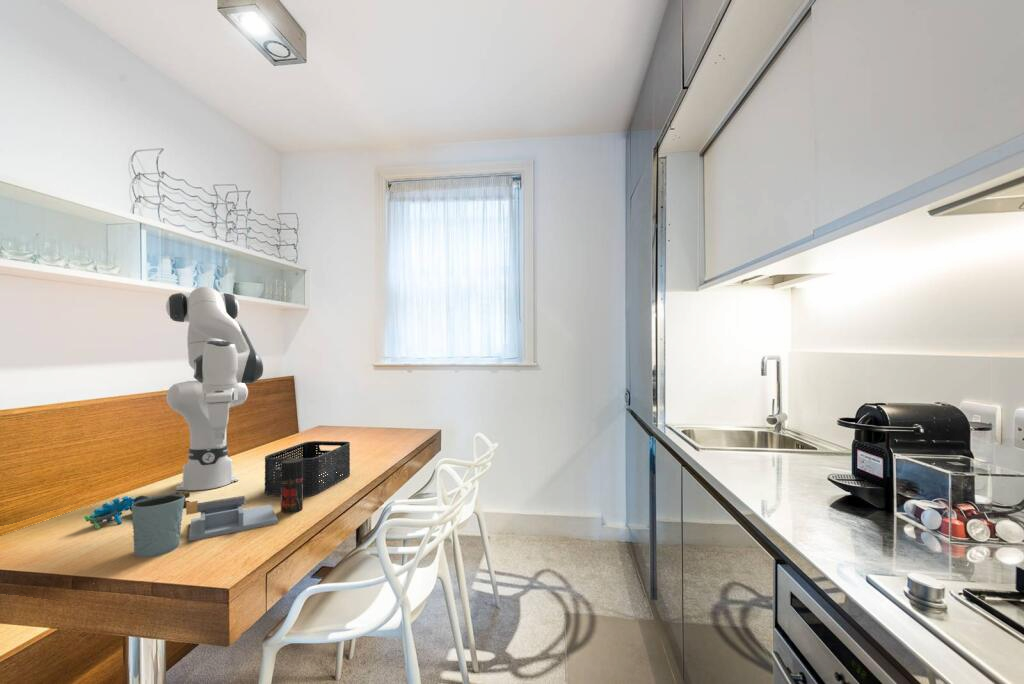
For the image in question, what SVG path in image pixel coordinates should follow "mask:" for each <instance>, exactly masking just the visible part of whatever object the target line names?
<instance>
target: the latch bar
mask: <svg viewBox="0 0 1024 684" xmlns="http://www.w3.org/2000/svg"><path fill="white" fill-rule="evenodd" d="M245 501H246V496H245V495H240V496H234V497H227V498H221V499H220V498H219V499H215V500H208V501H203V502H199V501H198V500H194V501H190V502H187V504H186V507H185V508H186V509H185V515H186V516H188V515H193V514H199V513H201V512H204V511H210V510H215V509H221V508H227V507H233V506H238V505H242V506H244V505H245V504H246V502H245Z"/></svg>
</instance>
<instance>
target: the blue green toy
mask: <svg viewBox="0 0 1024 684" xmlns="http://www.w3.org/2000/svg"><path fill="white" fill-rule="evenodd" d="M134 499H135V498H134V497H133V496H130V497H129V496H128V495H126V496H123V497H122V498H121V500H120V499H119V497H116V498H114V499H112V503H109V502H105V503H103V504H102V505H101V507H102V508H95V509H94V510H93V513H92V514H90V515H89V514H87V515H85V516H84V520H85V522H86V523H87V522H89V523H90V525H93V526H94V527H95V530H96V531H98V530H100V529H101V527H100V525H99V524H101V523H103V522H104V521H106V522H109V521H111V520H113V518H114V521H115V522H116V524H117V525H120V524H123V521H122V519H121V517H120V516H121V515H123V512H127V511H129V510H130V506H131V505H132V504H133V503H134V502H133V501H134Z"/></svg>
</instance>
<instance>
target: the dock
mask: <svg viewBox="0 0 1024 684" xmlns="http://www.w3.org/2000/svg"><path fill="white" fill-rule="evenodd" d="M275 524H278V517H277V515H276V512H275V509H274V508H273V505H272V504H268V505H262V506H256V507H251V508H246V509H243V505H238V506H233V507H227V508H221V509H215V510H210V511H204V512H200V517H197V518H191V519H190V526H189V537H188V542H192V541H197V540H202V539H207V538H212V537H217V536H222V535H227V534H231V533H235V532H242V531H246V530H250V529H256V528H260V527H261V528H262V527H265V526H271V525H275Z"/></svg>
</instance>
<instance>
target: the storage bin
mask: <svg viewBox="0 0 1024 684" xmlns="http://www.w3.org/2000/svg"><path fill="white" fill-rule="evenodd" d="M321 446H327V447H328V446H329V447H330V446H332V447H336V446H337V447H336V448H334V449H332V450H326V449H324V450H323V449H321ZM338 446H339V447H338ZM350 447H351V443H350V441H336V440H335V441H332V440H331V441H329V440H327V441H325V440H311V441H305V442H301V443H298V444H295V445H293V446H291V447H287V448H284V449H282V450H279V451H276V452H273V453H271V454H268V455H267V454H266V455H265V457H264V495H265V496H269V495H277V496H278V497H281V462H282V461H284V460H288V459H303V497H311V496H316V495H319V494H320V493H322V492H323V490H324V491H325V490H328V489H329V488H331V487H332V485H333V486H334V485H336V484H338V483H339V482H341V481H343V480H345V479H346V478H348V477H350V476H351V463H350V462H351V454H350V451H351V448H350ZM325 472H326V473H325ZM336 472H337V473H336ZM323 473H324V474H323ZM321 474H322V475H321ZM327 474H328V475H327ZM342 474H343V475H342ZM319 475H320V476H319ZM325 475H326V476H325ZM340 475H341V476H340ZM323 476H324V477H323ZM347 476H348V477H347ZM345 477H346V478H345ZM342 479H343V480H342ZM321 480H322V481H321ZM340 480H341V481H340ZM319 481H320V482H319ZM323 482H324V483H323ZM337 482H338V483H337ZM335 483H336V484H335ZM330 486H331V487H330ZM277 496H276V497H277Z"/></svg>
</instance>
